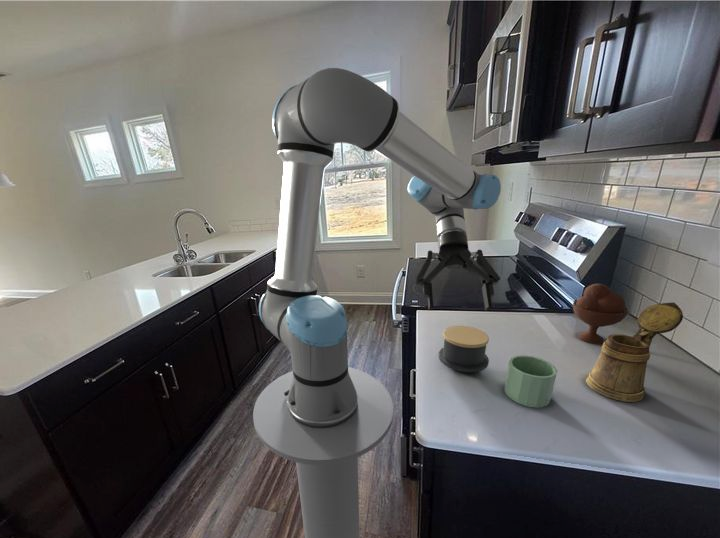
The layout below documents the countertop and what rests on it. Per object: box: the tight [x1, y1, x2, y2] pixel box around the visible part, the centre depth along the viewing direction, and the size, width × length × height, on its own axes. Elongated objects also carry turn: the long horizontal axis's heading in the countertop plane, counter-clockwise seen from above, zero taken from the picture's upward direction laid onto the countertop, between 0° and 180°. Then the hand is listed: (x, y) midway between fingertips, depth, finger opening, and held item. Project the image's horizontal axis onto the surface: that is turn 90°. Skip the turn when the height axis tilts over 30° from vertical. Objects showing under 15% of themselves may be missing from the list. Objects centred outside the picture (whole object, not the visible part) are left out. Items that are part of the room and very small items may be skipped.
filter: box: [438, 325, 490, 374], centre depth 75 cm, size 11×11×9 cm
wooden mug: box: [585, 301, 684, 403], centre depth 63 cm, size 9×14×18 cm, turn 103°
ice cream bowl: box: [572, 283, 629, 345], centre depth 82 cm, size 11×11×15 cm
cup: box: [504, 354, 558, 408], centre depth 65 cm, size 8×8×7 cm
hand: (459, 308), depth 79 cm, fingers open, 13 cm apart
